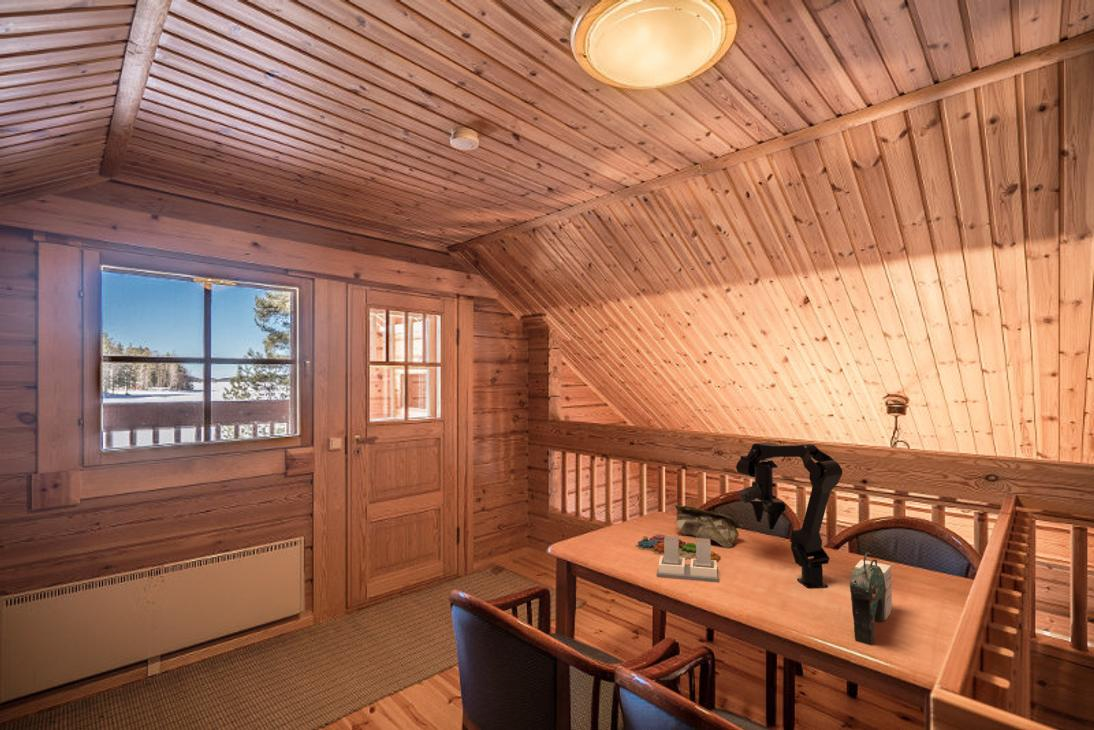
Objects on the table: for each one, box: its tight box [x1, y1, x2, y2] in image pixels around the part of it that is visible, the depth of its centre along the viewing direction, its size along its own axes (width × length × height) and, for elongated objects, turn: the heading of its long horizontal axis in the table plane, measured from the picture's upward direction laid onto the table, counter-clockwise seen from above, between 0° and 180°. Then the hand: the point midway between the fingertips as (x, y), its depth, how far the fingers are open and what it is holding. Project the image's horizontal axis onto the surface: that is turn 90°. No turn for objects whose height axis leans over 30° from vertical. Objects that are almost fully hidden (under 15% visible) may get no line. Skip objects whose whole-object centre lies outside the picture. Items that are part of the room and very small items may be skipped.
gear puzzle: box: [635, 533, 722, 561], centre depth 196 cm, size 31×16×4 cm, turn 42°
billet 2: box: [695, 537, 712, 568], centre depth 174 cm, size 4×4×10 cm
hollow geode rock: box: [674, 504, 744, 549], centre depth 209 cm, size 28×13×15 cm
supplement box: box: [854, 559, 893, 621], centre depth 145 cm, size 7×7×13 cm
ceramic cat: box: [849, 552, 886, 646], centre depth 135 cm, size 20×6×20 cm, turn 138°
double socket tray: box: [656, 555, 720, 583], centre depth 175 cm, size 19×11×4 cm, turn 73°
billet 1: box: [663, 535, 680, 565], centre depth 177 cm, size 4×4×10 cm
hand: (764, 525), depth 182 cm, fingers open, 9 cm apart
